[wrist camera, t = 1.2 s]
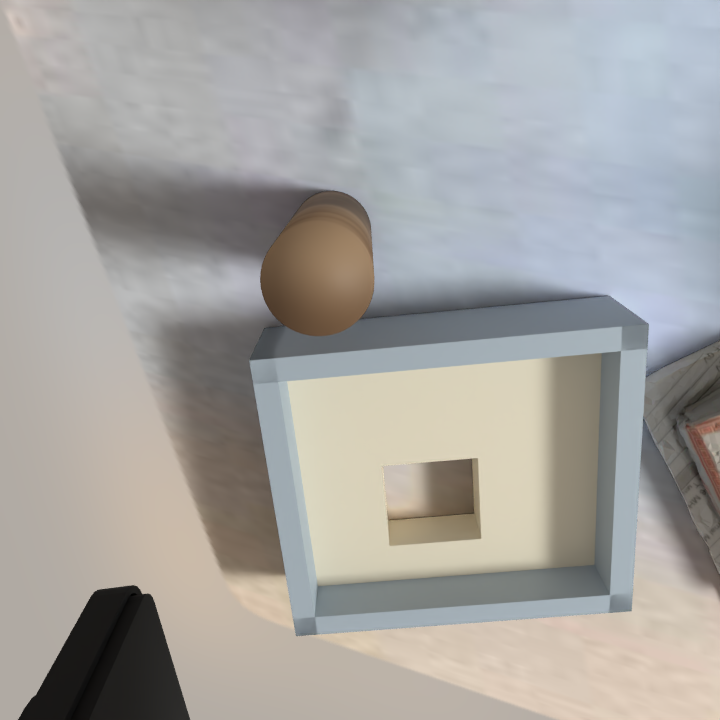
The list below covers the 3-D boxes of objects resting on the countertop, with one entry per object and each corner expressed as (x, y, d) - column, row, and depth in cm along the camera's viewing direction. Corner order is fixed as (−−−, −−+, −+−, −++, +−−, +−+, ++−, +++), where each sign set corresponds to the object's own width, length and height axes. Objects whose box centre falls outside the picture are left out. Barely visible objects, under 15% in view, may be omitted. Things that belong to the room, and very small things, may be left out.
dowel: (287, 195, 32) (251, 230, 22) (367, 186, 32) (368, 218, 22) (298, 273, 34) (269, 340, 23) (374, 265, 34) (379, 330, 23)
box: (264, 328, 35) (249, 360, 30) (609, 295, 34) (648, 323, 29) (303, 576, 40) (296, 636, 36) (599, 553, 40) (631, 611, 35)
